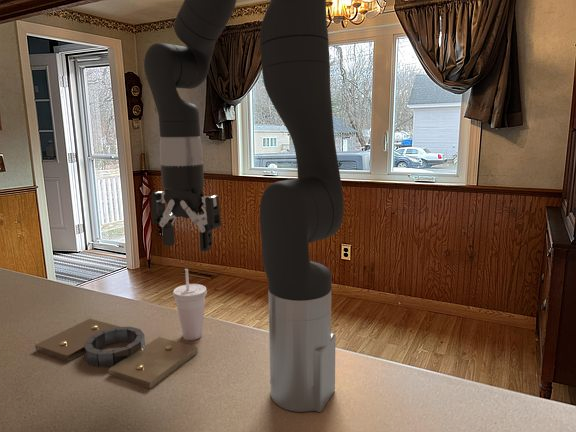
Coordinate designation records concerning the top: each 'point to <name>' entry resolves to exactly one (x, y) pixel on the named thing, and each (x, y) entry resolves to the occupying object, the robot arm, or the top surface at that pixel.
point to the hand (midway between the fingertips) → (187, 247)
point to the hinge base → (119, 351)
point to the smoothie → (190, 308)
